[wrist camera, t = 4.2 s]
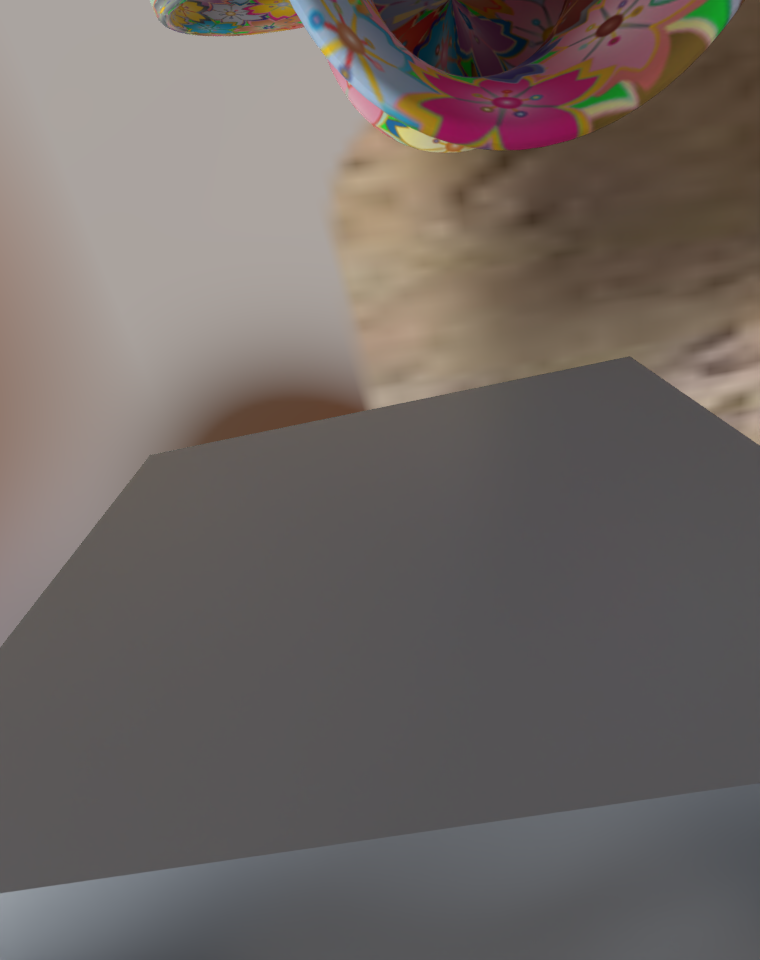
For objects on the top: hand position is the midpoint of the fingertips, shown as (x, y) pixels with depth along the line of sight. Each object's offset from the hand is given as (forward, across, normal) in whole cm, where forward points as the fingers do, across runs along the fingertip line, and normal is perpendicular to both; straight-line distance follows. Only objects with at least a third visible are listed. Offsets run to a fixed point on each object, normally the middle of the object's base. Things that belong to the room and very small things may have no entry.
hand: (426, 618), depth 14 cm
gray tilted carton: (+1, 0, 0) cm, 1 cm away
